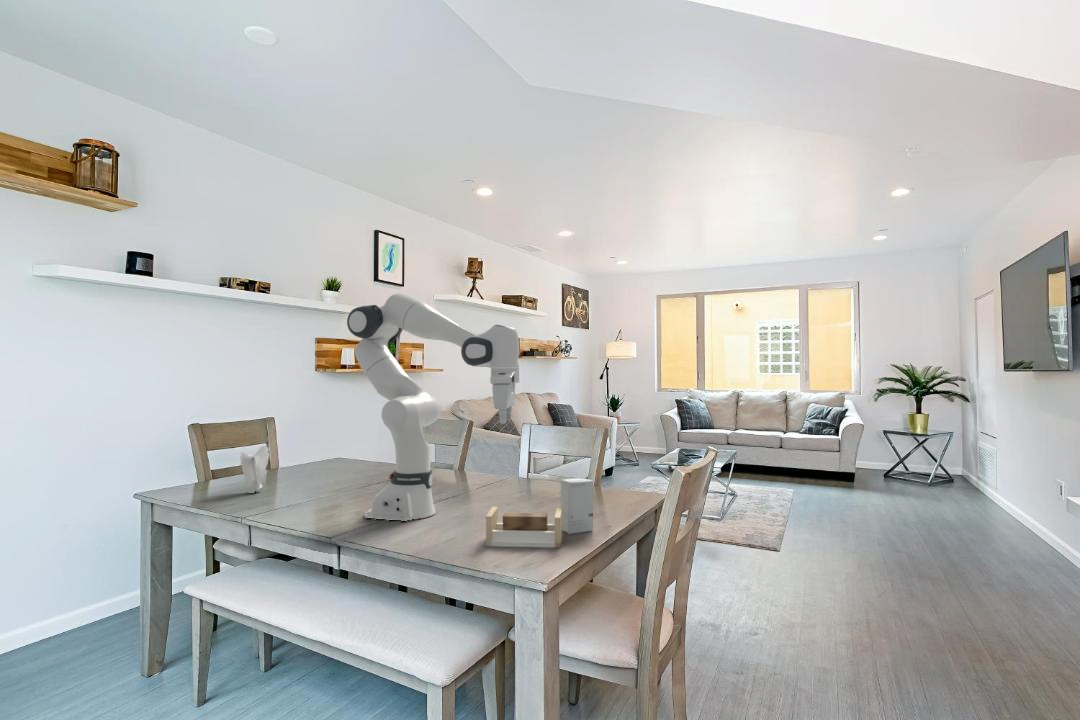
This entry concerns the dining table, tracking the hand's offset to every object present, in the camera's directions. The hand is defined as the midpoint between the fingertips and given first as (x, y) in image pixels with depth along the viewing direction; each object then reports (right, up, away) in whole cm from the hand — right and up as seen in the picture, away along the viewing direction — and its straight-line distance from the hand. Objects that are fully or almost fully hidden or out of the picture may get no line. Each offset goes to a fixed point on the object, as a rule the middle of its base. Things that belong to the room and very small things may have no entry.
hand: (505, 422), depth 169 cm
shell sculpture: (-100, -33, +43) cm, 114 cm away
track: (+7, -31, -18) cm, 36 cm away
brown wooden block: (+7, -30, -18) cm, 35 cm away
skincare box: (+22, -31, -8) cm, 39 cm away
